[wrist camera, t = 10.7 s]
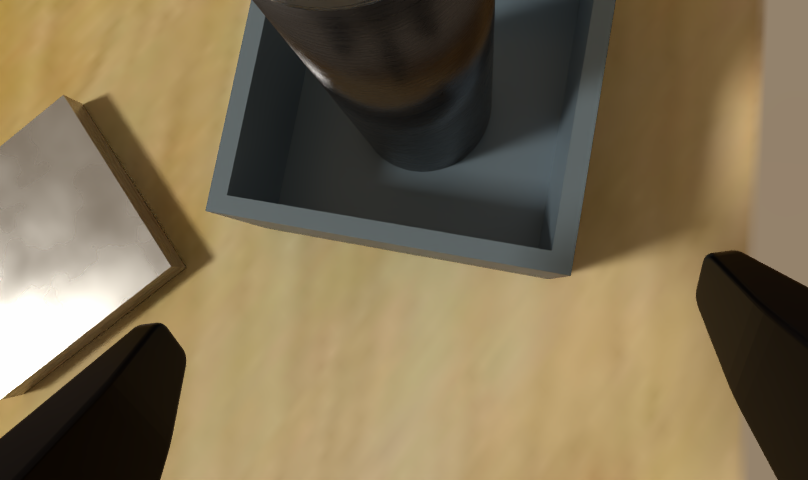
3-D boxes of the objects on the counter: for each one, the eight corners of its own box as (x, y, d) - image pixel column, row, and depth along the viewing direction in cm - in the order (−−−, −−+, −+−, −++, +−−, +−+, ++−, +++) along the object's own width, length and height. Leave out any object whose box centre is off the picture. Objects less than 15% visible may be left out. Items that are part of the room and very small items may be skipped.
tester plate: (186, 267, 20) (171, 266, 19) (21, 394, 21) (-2, 400, 20) (82, 103, 22) (63, 94, 21) (-69, 226, 22) (-94, 223, 21)
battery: (432, 198, 18) (321, 15, 6) (335, 119, 19) (62, -184, 7) (519, 94, 18) (594, -320, 6) (417, 19, 19) (290, -477, 7)
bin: (548, 278, 18) (570, 275, 14) (265, 227, 20) (205, 210, 16) (597, -12, 19) (632, -101, 14) (319, -34, 21) (277, -120, 16)
